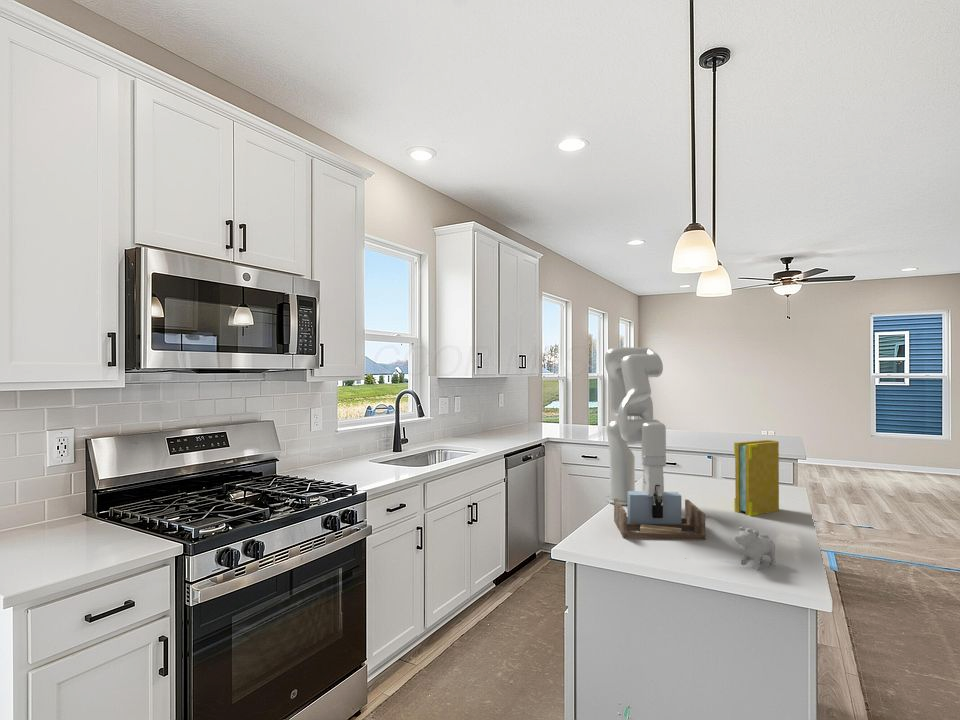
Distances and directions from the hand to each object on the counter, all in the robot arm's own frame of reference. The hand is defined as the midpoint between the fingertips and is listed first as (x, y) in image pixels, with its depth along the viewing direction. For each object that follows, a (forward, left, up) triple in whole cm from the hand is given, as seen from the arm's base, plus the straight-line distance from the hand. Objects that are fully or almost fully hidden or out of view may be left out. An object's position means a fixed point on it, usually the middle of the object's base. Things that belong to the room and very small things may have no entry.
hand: (654, 513), depth 183 cm
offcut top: (+9, 0, -4) cm, 10 cm away
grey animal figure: (+30, +20, -6) cm, 36 cm away
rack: (+5, 0, -5) cm, 7 cm away
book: (-26, +43, -6) cm, 51 cm away
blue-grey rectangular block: (0, 0, -5) cm, 5 cm away
